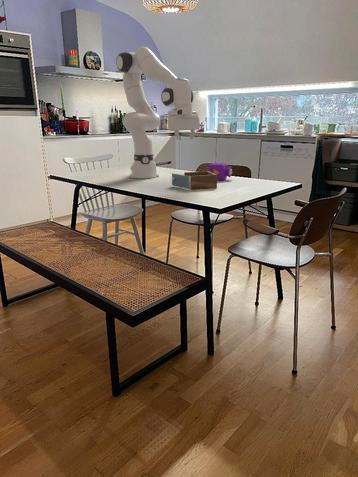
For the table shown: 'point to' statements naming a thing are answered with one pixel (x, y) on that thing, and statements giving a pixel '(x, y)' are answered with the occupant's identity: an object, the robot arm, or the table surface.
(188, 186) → the side door
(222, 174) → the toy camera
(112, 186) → the table surface
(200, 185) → the storage case
